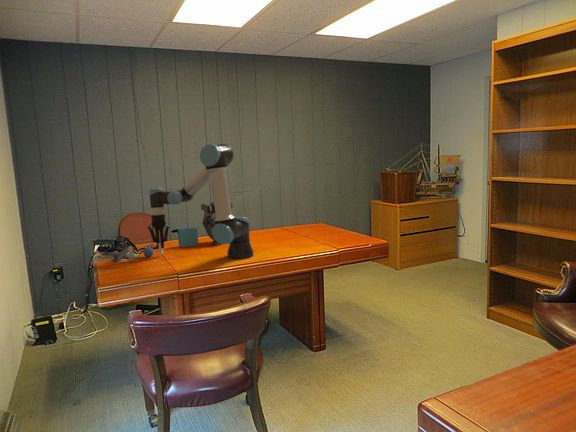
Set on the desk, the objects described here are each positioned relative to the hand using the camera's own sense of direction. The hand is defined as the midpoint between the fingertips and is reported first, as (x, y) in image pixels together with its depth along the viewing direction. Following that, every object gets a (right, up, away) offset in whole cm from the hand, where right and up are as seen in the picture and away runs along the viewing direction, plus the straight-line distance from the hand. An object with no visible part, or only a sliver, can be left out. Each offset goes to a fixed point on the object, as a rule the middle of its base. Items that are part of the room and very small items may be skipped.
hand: (161, 253), depth 252 cm
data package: (+9, +2, +30) cm, 31 cm away
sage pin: (-14, -4, -8) cm, 17 cm away
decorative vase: (+29, +4, +36) cm, 46 cm away
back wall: (-23, -3, +2) cm, 23 cm away
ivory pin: (-13, -1, -1) cm, 13 cm away
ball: (-8, +1, +1) cm, 8 cm away
